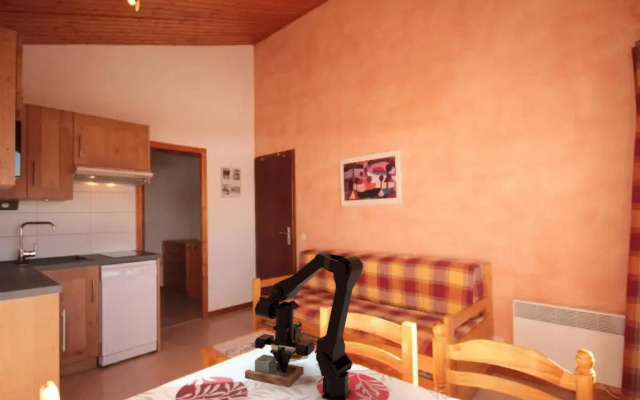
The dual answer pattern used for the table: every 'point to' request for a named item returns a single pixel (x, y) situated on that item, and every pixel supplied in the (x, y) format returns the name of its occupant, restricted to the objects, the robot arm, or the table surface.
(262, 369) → the block
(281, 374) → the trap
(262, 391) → the table surface
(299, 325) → the condiment
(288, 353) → the robot arm
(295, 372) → the channel
